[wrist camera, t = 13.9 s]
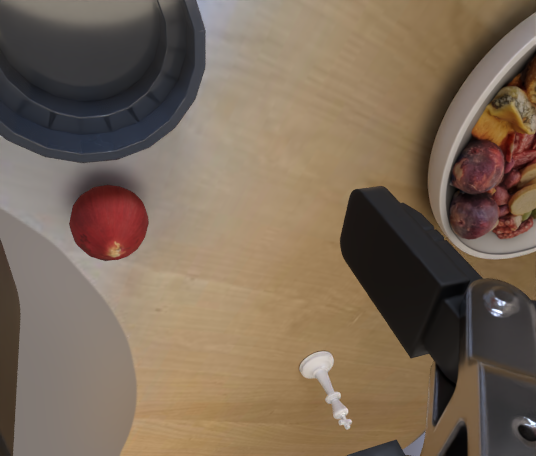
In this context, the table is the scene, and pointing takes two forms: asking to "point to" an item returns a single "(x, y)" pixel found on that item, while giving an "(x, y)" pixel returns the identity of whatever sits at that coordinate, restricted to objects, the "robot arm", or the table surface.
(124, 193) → the onion
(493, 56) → the bowl
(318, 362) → the chess piece
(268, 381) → the table surface
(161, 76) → the bowl
